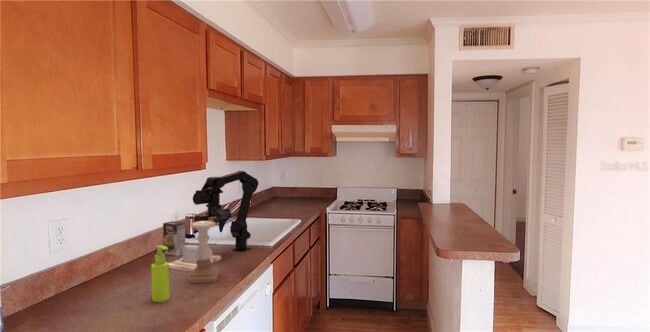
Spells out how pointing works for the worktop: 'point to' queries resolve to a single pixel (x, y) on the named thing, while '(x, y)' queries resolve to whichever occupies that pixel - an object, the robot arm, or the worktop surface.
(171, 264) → the pocket board
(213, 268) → the candle holder
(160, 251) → the soap dispenser
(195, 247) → the medicine box
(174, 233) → the coffee box
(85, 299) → the worktop surface
